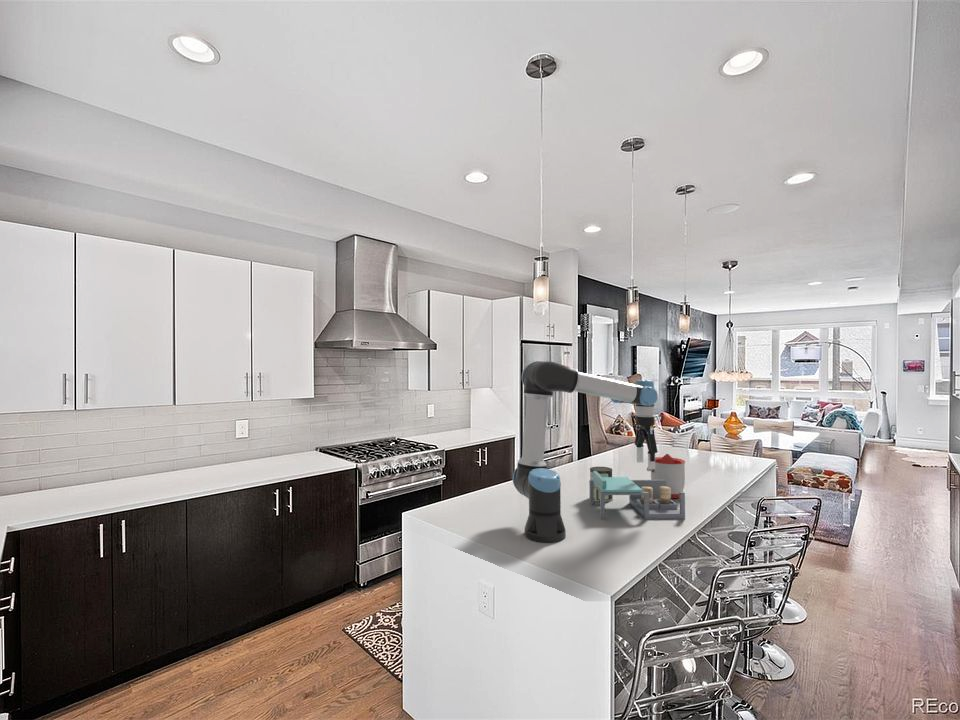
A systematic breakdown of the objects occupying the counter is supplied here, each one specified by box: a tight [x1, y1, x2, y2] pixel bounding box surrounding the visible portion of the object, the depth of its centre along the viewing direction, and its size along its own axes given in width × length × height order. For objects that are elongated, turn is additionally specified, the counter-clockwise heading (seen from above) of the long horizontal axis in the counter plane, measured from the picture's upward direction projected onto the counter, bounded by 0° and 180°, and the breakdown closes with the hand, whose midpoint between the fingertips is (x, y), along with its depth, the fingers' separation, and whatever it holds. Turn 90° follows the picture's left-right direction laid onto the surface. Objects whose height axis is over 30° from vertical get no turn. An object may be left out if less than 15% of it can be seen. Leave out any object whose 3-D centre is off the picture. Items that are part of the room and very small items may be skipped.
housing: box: [588, 479, 686, 520], centre depth 202 cm, size 22×34×10 cm, turn 89°
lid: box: [592, 471, 643, 492], centre depth 202 cm, size 22×16×4 cm
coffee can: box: [589, 466, 614, 503], centre depth 220 cm, size 10×10×14 cm
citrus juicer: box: [646, 453, 686, 499], centre depth 225 cm, size 16×17×20 cm
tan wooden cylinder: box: [659, 486, 672, 504], centre depth 201 cm, size 4×4×8 cm
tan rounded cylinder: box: [641, 486, 653, 504], centre depth 201 cm, size 4×4×8 cm
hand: (645, 465), depth 201 cm, fingers open, 13 cm apart
